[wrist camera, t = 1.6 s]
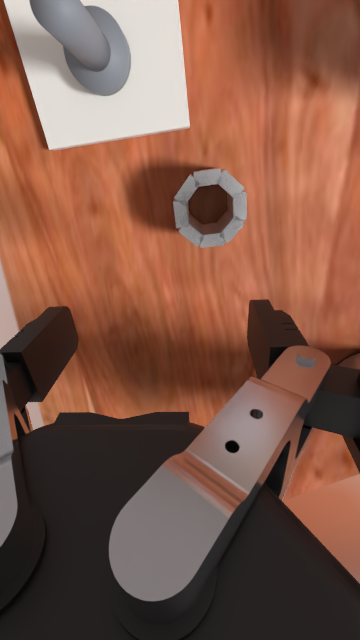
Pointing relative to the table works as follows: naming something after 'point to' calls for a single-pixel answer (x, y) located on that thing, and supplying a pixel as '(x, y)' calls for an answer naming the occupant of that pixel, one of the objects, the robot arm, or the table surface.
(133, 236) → the table surface
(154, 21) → the shaft block
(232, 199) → the ring
